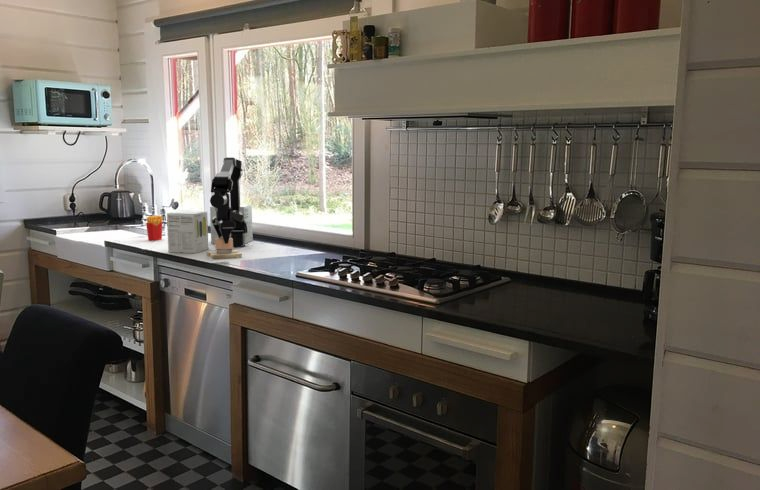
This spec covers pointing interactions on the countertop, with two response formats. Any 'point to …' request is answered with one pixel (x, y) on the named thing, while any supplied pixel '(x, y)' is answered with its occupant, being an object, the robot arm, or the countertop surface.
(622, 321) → the countertop surface
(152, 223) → the french fries
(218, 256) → the post stand
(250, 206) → the supplement box
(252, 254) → the countertop surface
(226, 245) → the ring
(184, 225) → the supplement box
